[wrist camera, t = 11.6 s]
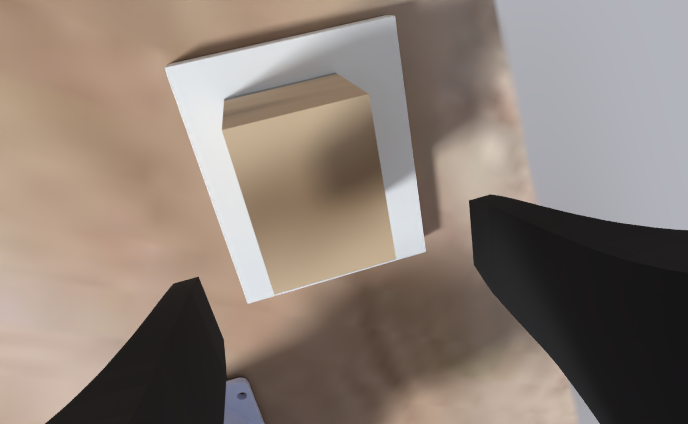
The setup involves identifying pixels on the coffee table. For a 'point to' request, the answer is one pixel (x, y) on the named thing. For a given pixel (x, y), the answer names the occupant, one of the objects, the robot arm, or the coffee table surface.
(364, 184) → the block
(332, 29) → the board
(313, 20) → the coffee table surface
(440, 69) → the coffee table surface
